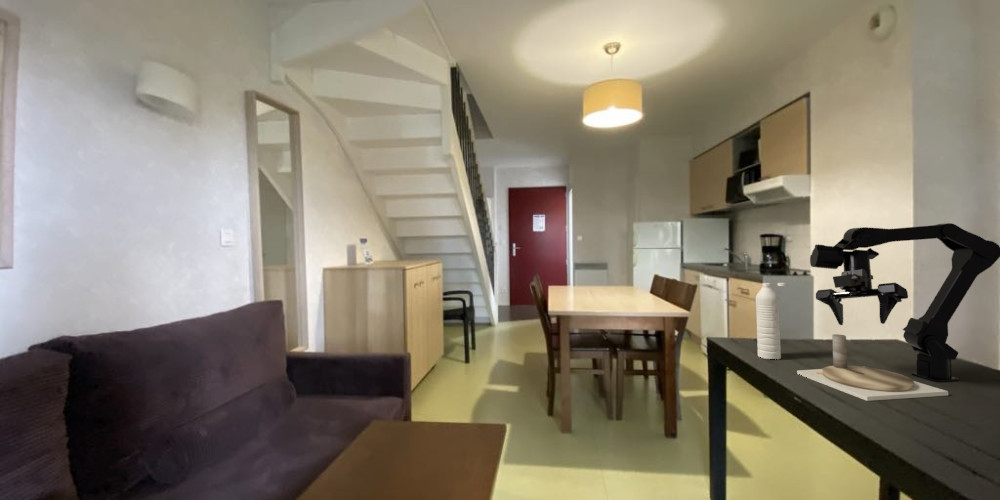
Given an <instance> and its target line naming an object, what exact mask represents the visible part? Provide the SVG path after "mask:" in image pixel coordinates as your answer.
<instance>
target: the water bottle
mask: <svg viewBox="0 0 1000 500" xmlns="http://www.w3.org/2000/svg"><path fill="white" fill-rule="evenodd" d="M787 285H788V284H787V282H777V286H778V287H787ZM761 286H762V287H761V289H759V291H758V292H757V294H756V295H755V306H756V307H755V309H756V310H755V311H756V312H755V313H756V342H757V345H756V346H757V356H758V358H760V357H761V358H760V359H764V360H770V359H775V360H776V359H777V360H780V359H781V358H782V351H781V334H780V333H781V329H780V326H781V325H780V323H781V321H780V306H779V305H780V298H779V296H778V294H777V293H776V292H775V290H774V289H773V288H772V284H771V282H762V285H761Z"/></svg>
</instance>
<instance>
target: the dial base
mask: <svg viewBox="0 0 1000 500" xmlns="http://www.w3.org/2000/svg"><path fill="white" fill-rule="evenodd" d="M862 367H866V366H862ZM796 373H797V375H799V374H800V375H799V376H801V375H802V377H804V378H806V377H807V379H809V380H812V381H815V382H817V383H820V384H822V385H825V386H828V387H830V388H832V389H835V390H838V391H841V392H842V393H846V394H848V395H851V396H854V397H856V398H859V399H862V400H863V401H866V402H867V401H868V402H870V401H884V400H885V401H886V400H903V399H915V398H930V397H932V398H933V397H945V396H946V397H947V396H949V391H948V390H945V389H941V388H938V387H936V386H935V387H934V386H931V385H929V384H925V383H921V382H918V381H915V380H913V381H914V387H913V388H912V389H909V390H903V391H885V390H874V389H866V388H860V387H855V386H850V385H846V384H842V383H839V382H836V381H833V380H830V379H828V378H827V377H825V376H824V375H823V368H818V369H804V370H803V369H800V370H799V369H798V370H797V371H796Z"/></svg>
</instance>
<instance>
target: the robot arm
mask: <svg viewBox="0 0 1000 500" xmlns="http://www.w3.org/2000/svg"><path fill="white" fill-rule="evenodd" d="M932 239H933V240H935V239H938V240H939V241H940V242H941V243H942V244H943V245H944V246H945V247H946V248H947V249H949V250H951V251H953V253H952V256H951V270H950V271H949V273H948V275H947V276H946V278H945V280H944V282H943V283H942V285H941V286H940V288H939V290H938V292H937V293H936V295H935V296H934V298H933V300H932V302H931V303H930V304H929V306H928V307H927V309H926V312H925V313H923V315H922V316H921V317H919V318H918V319H917V318H914V317H910V318H909V319H908V322H907V324H906V326H905V327H904V328H902V331H904V332H903V335H902V336H903V338H904V340H905V342H906V343H907V344H908V345H910V346H911V348H912V350H913V351H914V352H917V354H916V360H915V361H916V364H915V365H916V371H915V372H911V376H914V377H915V376H916V377H919V378H923V379H926V380H930V381H933V382H937V383H938V382H939V383H940V382H941V383H942V382H953V381H954V382H956V381H959V380H960V379H959V377H955V376H952V360H954V361H955V360H956V359H957V357H958V355H959V352H958V351H957V349H955V348H953V347H952V346H951V345H949V343H946V342H947V340H948V336H949V323H950V321H951V319H952V317H953V316H954V314H955V313H956V311H957V309H958V308H959V306H960V305H961V302H963V300H964V298H965V296H966V294H967V293H968V291H969V290H970V289H971V287H972V285H973V283H974V282H975V281H976V279H977V278H978V276H979V275H980V274H983V273H984V272H985V271H987V270H988V269H990V268H991V267H992V266H993V265H994V264H995V263H997V261H998V260H999V259H1000V245H999V244H998V243H996V242H995V241H993V240H989V239H988V240H986V239H985V238H983V237H981V236H980V235H977V234H975V233H972V232H971V231H967V230H965V229H963V228H962V227H960V226H958V225H956V224H955V223H949V222H948V223H946V222H945V223H938V224H934V225H922V226H910V227H907V226H906V227H898V228H882V227H867V226H866V227H863V226H862V227H853V228H849V229H848V230H846V231H845V232H844V234H843V237H842V238H841V240H839V241H838V242H837V243H836V244H835V245H833V246H831V245H824V244H814V248H813V250H812V251H811V254H810V255H809V263H810V266H811V268H819V269H829V270H837V269H838V268H839V267H843V271H841V274H840V275H834V276H832V279H833V284H834V287H835V289H837V288H839V289H840V290H842V291H837V290H834V289H832V288H829V289H828V288H826V289H819V290H817V291H816V292H815V299H816V300H817V301H818V302H821V303H822V304H825V305H827V306H829V308H830V310H831V312H833V315H834V317H835V319H836V321H837V323H838V325H839V326H843V324H844V304H843V303H841V302H842V300H845V299H853V298H854V299H855V298H857V299H858V298H865V297H877V299H878V303H879V321H880V324H882V325H885V324H886V322H887V320H888V318H889V316H890V314H891V312H892V310H893V309H894V308H895V306H896V305H897V304H898V303H901V302H902V300H905V299H906V300H907V299H908V298H909V292H908V290H907V289H906V288H905V287H904V286H902V285H901V284H898V283H897V282H889V283H887V282H886V283H878V285H877V288H873V283H872V280H874V275H872V272H871V261H870V260H874V259H875V258H877V257H878V256H879V255H880V253H879V252H877V251H876V250H874V249H872V248H871V247H875V246H876V247H877V246H880V245H884V244H888V243H892V242H893V243H894V242H904V241H905V242H906V241H918V240H921V241H922V240H932ZM859 248H864V249H865V248H868V249H866V250H864V249H859ZM843 290H844V291H843Z"/></svg>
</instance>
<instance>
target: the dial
mask: <svg viewBox="0 0 1000 500" xmlns="http://www.w3.org/2000/svg"><path fill="white" fill-rule="evenodd" d="M831 336H832V361H833V362H832V365H828V366H825V367H823V368H822V369H823V375H824V376H825V377H827V378H828V379H830V380H833V381H836V382H839V383H842V384H846V385H850V386H855V387H860V388H866V389H874V390H885V391H903V390H909V389H912V388H913V387H914V381H915V380H913V379H912V378H910V377H908V376H906V375H903V374H900V373H898V372H893V371H890V370H887V369H880V368H874V367H868V366H865V367H862V366H860V365H848V359H847V358H848V357H847V356H848V355H847V336H846V335H844V334H838V333H836V334H835V333H834V334H832V335H831Z"/></svg>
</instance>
